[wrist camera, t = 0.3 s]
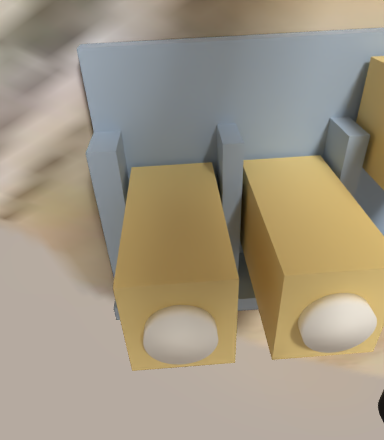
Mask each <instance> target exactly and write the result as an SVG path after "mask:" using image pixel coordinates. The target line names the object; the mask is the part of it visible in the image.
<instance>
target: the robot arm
mask: <svg viewBox="0 0 384 440" xmlns="http://www.w3.org/2000/svg"><path fill="white" fill-rule="evenodd" d="M378 410H379V414H380V416H381V418H382V420H383V422H384V390H383V393H382V395H381V397H380V400H379V402H378Z"/></svg>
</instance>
